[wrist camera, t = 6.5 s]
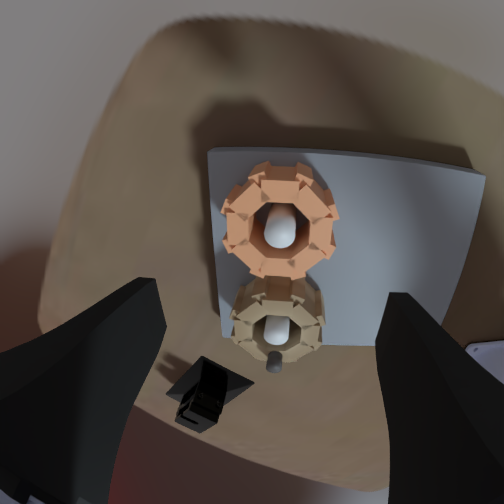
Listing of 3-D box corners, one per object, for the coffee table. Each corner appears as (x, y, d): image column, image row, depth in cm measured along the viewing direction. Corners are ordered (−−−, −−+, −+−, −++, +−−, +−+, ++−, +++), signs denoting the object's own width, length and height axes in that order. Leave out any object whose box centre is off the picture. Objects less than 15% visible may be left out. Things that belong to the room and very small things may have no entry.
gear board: (474, 169, 14) (513, 192, 11) (427, 331, 21) (442, 373, 17) (214, 147, 17) (188, 164, 13) (226, 323, 23) (213, 367, 19)
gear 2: (327, 270, 18) (331, 311, 14) (317, 336, 20) (318, 379, 17) (235, 264, 18) (221, 303, 15) (239, 331, 21) (228, 372, 18)
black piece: (203, 338, 25) (188, 379, 21) (273, 375, 26) (267, 417, 22) (156, 391, 31) (142, 423, 27) (210, 419, 32) (201, 451, 28)
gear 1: (336, 163, 15) (344, 177, 12) (327, 257, 17) (331, 284, 15) (230, 159, 15) (217, 171, 13) (234, 251, 18) (223, 277, 16)
